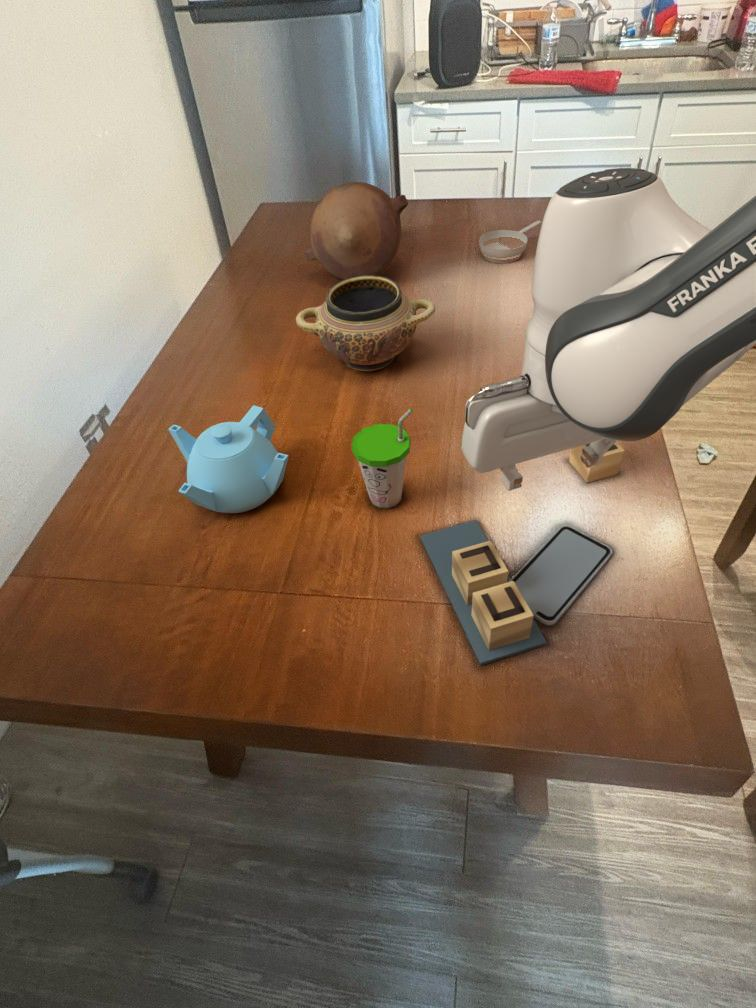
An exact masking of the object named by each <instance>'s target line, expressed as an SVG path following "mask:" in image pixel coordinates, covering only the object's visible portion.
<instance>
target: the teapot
mask: <svg viewBox="0 0 756 1008" xmlns="http://www.w3.org/2000/svg"><path fill="white" fill-rule="evenodd" d="M275 428H276V425H275V423H274V422H273V420H272V418H271V417H270V415H269V414H268V412H267V411H266V409H265V408H264V407H262V406H258V405H254V404H253V405H252V406H251V407H250V409H249V410H248V411H247V412H246V414H245V415H244V416H243V417H242V419H241V420H240V421H239V422H238V421H226V422H225V421H224V422H220V423H217V424H214V425H211V426H210V427H208V428H206V429H205V430H203V432H201V433H200V435H199V436H198V437H197V438H196V437H194V436H193V435H192V434H190V433H189V432H188V431H187V430H185V429H184V428H183V427H182V426H180V425H177V424H172V426H170V427H169V428H168V432H169V434H170V435H171V437H172V439H173V440H174V442H175V444H176V446H177V447H178V449H179V451H180V452H181V454H182V456H183V457H184V460H185V461H186V463H187V465H186V482H184V483H182V486H181V487H180V488H179V490H178V491H177V492H178V494H180V495H182V496H183V497H184V498H186V499H188V500H189V501H191V502H192V503H193V504H195V505H197V506H200V507H202V508H205V509H207V510H209V511H213V512H216V513H222V514H240V513H241V514H242V513H246V512H248V511H251V510H254V509H256V508H258V507H260V506H262V505H263V504H264V503H265V502H267V501H268V500H269V499H270V498H271V497H272V496H273V495H274V494H275V492H276V491H277V490H278V489H279V487H280V485H281V484H282V482H283V481H284V477H285V473H286V469H287V464H288V461H289V454H286V453H281V452H278V450H277V449H276V447H275V446H274V444H273V443H272V442H271V441H272V438H273V435H274V432H275Z"/></svg>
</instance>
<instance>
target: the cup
mask: <svg viewBox="0 0 756 1008" xmlns="http://www.w3.org/2000/svg"><path fill="white" fill-rule="evenodd" d="M413 412H414V410H413V409H412V408H411V407H410V408H409V409H408V410H407V411H406V412H405V413H404V414H403V415H402V416H400V418H398V421H397V425H396V424H392V423H375V424H372V425H369V426H366V427H363V428H362V429H360V430H359V431H358V432H357V433H356V434H355V435H354V436H353V437H352V441H351V452H352V454H353V455H354V457H355V458H356V460H357V463H358V465H359V469H360V472H361V475H362V478H363V481H364V484H365V488H366V491H367V495H368V497H369V500H370V502H371V504H372V505H373V506H375V507H377V508H379V509H391V508H393V507H396V506H398V505H399V503H400V502H401V501H402V496H403V487H404V480H405V479H404V477H405V470H406V463H407V462H406V461H407V456H408V455H409V454H410V451H411V443H412V442H411V436H410V434H408V432H407V431H406V430H405V429H404V428H403V423H404V421H405V420H406V419H407V418H408V417H409V416H410V415H411V414H412V413H413Z"/></svg>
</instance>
